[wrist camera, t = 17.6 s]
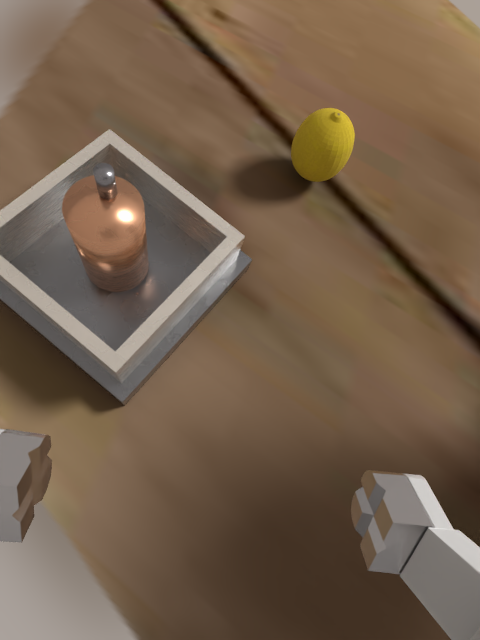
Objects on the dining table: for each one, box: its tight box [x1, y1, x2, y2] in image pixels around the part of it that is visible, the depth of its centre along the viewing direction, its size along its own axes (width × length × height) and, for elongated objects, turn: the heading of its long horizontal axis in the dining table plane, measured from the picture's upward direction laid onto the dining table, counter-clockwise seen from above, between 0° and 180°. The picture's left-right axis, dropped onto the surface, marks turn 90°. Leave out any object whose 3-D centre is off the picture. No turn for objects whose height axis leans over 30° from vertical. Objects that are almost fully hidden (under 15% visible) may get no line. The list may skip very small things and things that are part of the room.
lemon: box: [291, 108, 355, 182], centre depth 38 cm, size 6×6×8 cm
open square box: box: [0, 129, 252, 406], centre depth 32 cm, size 16×16×6 cm
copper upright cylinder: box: [62, 163, 149, 292], centre depth 29 cm, size 5×5×10 cm
